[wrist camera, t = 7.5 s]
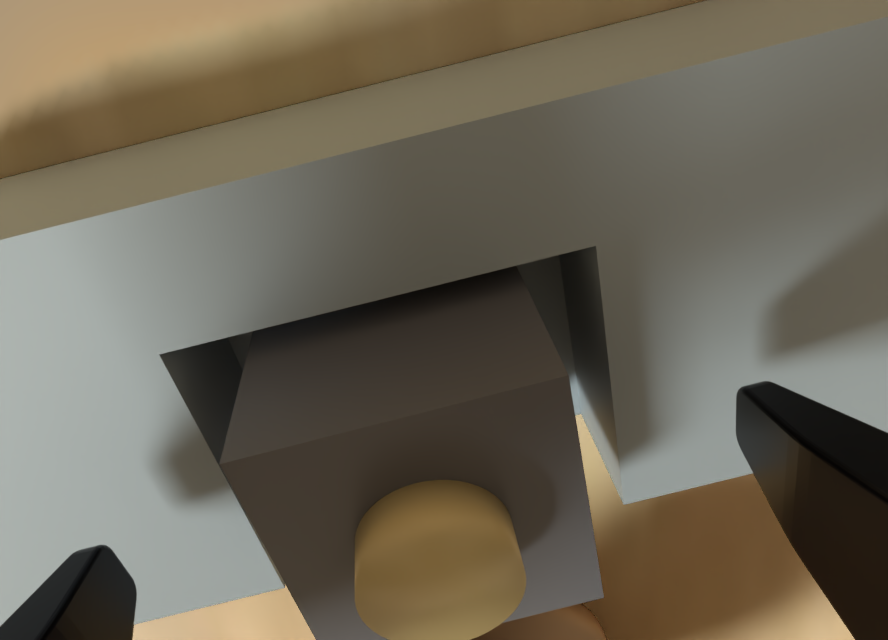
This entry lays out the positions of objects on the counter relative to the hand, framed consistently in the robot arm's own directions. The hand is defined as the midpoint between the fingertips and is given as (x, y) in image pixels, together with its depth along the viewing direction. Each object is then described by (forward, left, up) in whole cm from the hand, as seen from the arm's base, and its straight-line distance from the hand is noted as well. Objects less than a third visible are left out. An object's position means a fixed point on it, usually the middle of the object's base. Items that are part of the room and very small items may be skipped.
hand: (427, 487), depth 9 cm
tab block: (0, 0, -4) cm, 4 cm away
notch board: (0, -1, -4) cm, 5 cm away
